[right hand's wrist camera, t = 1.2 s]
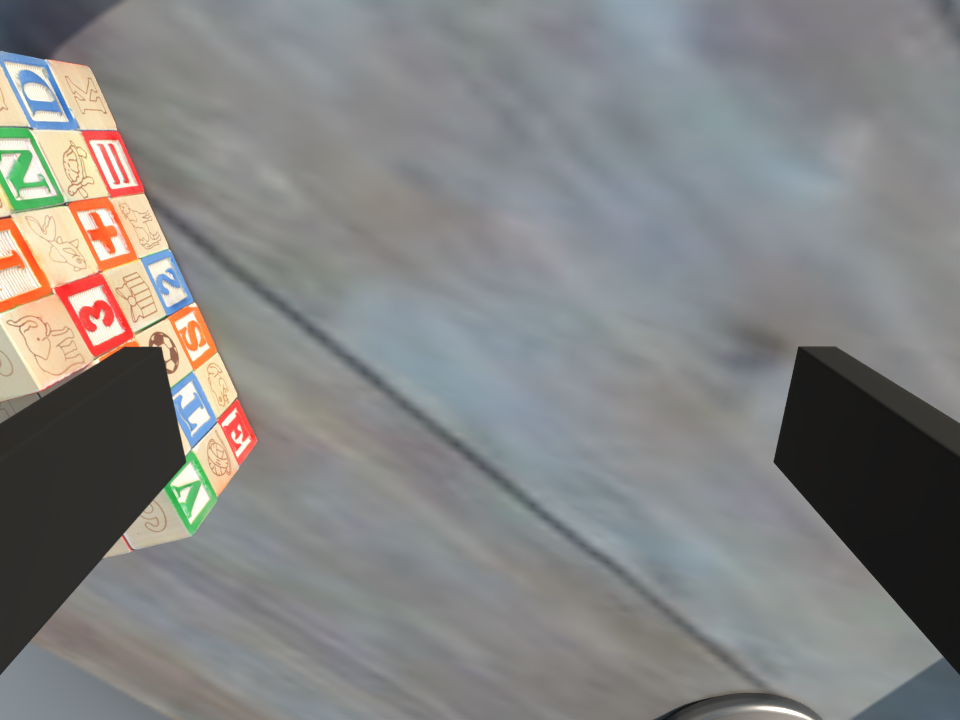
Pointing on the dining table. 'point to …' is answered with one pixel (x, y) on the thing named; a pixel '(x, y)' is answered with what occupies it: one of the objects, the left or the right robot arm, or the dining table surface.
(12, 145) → the stack of blocks
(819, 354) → the right robot arm
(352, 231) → the dining table surface
